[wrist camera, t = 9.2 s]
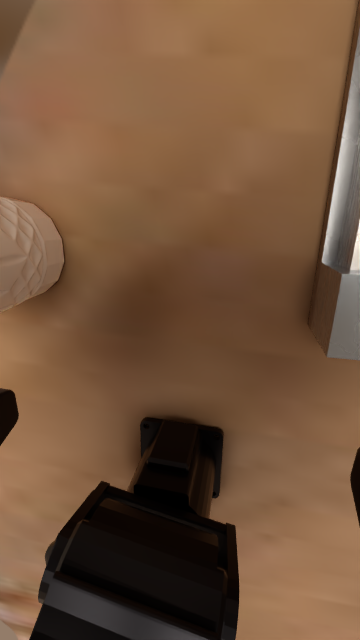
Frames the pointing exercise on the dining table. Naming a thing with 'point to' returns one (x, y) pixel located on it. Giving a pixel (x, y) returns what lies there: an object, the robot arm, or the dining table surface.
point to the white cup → (27, 252)
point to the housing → (342, 231)
